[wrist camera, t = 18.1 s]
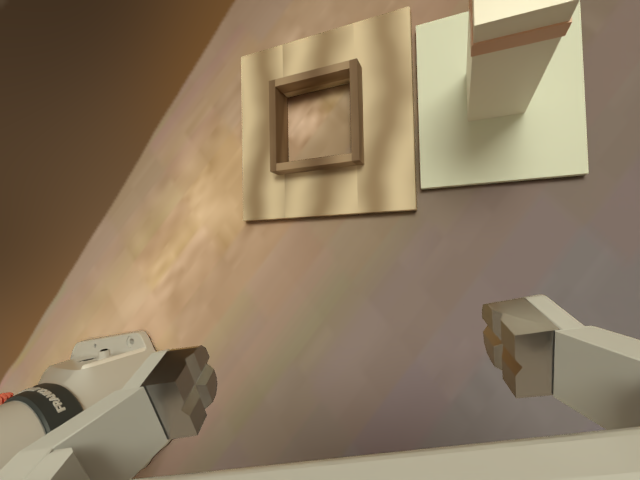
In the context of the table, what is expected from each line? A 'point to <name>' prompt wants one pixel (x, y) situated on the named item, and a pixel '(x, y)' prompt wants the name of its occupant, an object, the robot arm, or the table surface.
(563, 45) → the pad
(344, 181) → the wooden square socket board
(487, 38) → the banded cream pillar
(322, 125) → the table surface
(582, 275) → the table surface
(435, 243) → the table surface
